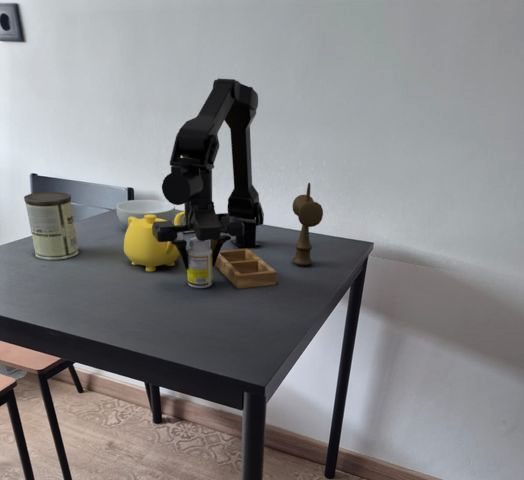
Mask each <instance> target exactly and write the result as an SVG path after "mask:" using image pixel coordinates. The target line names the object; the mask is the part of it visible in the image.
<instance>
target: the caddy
mask: <svg viewBox="0 0 524 480" xmlns="http://www.w3.org/2000/svg"><path fill="white" fill-rule="evenodd" d="M214 267H216V268H217V269H218V270H219V271H220V272H221V273H222V274H223V275H224V276H225V277H226V279H227V280H228V281H229V282H230V283H231V284H232V285H234V287H236V289H237V290H240V289H247V288H256V287H257V288H258V287H265V286H273V285H274V286H275V285H277V276H278V272H277V270H275V269H274V268H273V267H272V266H271V265H269V264H268V263H267V262H266V261H264V260H263V259H262V258H260V257H259V256H258V255H257V254H255V252H253V251H252V250H251V249H249V248H237V249H225V250H220V252H219V255H218V257H217V260H216V263H215V266H214Z"/></svg>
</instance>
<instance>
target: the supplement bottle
mask: <svg viewBox="0 0 524 480" xmlns="http://www.w3.org/2000/svg"><path fill="white" fill-rule="evenodd" d="M209 246H210V244H209V240H205V241H200V240H198V239H197V237H196V236H195V237H191V238H190V239H189V246H188V247H187V248H186V251H187V258H188V269H186V274H187V284H188V286H190V287H191V288H194V289H206V288H209V287H211V286H212V284H213V281H214V280H213V267H212V249H211V248H210V247H209Z"/></svg>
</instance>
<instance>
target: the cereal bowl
mask: <svg viewBox="0 0 524 480" xmlns="http://www.w3.org/2000/svg"><path fill="white" fill-rule="evenodd" d="M115 209H116V215H117V218H118V220H119V221H120V223H121V224H123V226H125V227H127V228H128V227H129V224H128V218H129V217H135V218H137V219H142V218H145V217H144V216H145V215H148V214H153V215H156V218H159V219H163V220H166V221H171V222H172V223H174V220H175V217H176V205H174V204H172V203H170V202H169V201H164V200H157V199H130V200H125V201H122V202H118V203H116V206H115Z"/></svg>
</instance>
